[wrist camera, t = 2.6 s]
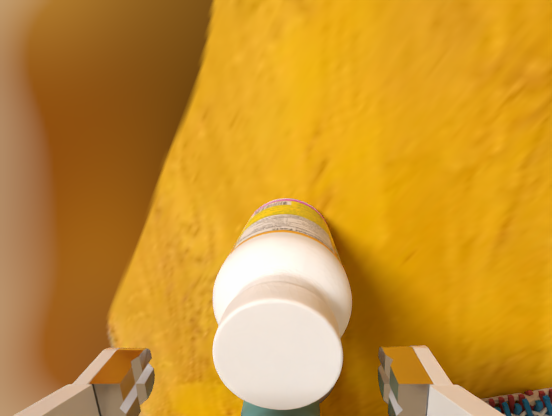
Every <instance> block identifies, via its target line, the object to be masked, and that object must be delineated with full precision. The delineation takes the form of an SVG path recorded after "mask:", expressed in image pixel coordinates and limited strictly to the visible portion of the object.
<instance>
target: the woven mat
mask: <svg viewBox="0 0 552 416" xmlns="http://www.w3.org/2000/svg"><path fill="white" fill-rule="evenodd" d="M548 395H549V396H548ZM481 400H482V401H484V402H485V403H487V404H488V405H490V406H491V407H493V408H494V409H496V410H498V411H499V412H501V413H502V414H504V415H505V416H552V388H545V389H539V390H534V391H531V390H528V391H525V394H522V393H515V394H509V395H503V396H496V397H490V398H484V399H481ZM515 401H519V403H516V404H515ZM507 402H508V403H509V406H508V404H507ZM495 404H499V407H495Z"/></svg>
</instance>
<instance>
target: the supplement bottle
mask: <svg viewBox="0 0 552 416" xmlns="http://www.w3.org/2000/svg"><path fill="white" fill-rule="evenodd" d="M213 308H214V314H215V317H216V320H217V323H218V325H219V326H218V329H217V332H216V335H215V337H214V342H213V360H214V364H215V368H216V370H217V372H218V374H219V376H220V378H221V380H222V381H223V383H224V384H225V385H226V386H227V387H228V388H229V389H230V390H231V391H232V392H233V393H234V394H235V395H237V396H238V397H239V398H241V399H243V400H244V401H246V402H249V403H251V404H253V405H256V406H259V407H263V408H268V409H276V410H289V409H296V408H300V407H304V406H307V405H309V404H311V403H313V402H315V401H317V400H319V399H320V398H321V397H323V396H324V395H325V394H327V393H328V392H329V391H330V389H331V388H332V387H333V386H334V384H335V383H336V381H337V380H338V377H339V375H340V372H341V369H342V364H343V349H342V344H341V339H340V338H341V337H342V335H343V333H344V332H345V330H346V328H347V325H348V322H349V319H350V316H351V310H352V294H351V288H350V284H349V281H348V278H347V275H346V272H345V270H344V267H343V265H342V262H341V260H340V257H339V254H338V252H337V249H336V246H335V244H334V241H333V238H332V236H331V233H330V230H329V228H328V226H327V223H326V221H325V220H324V218H323V216H322V215H321V214H320V213H319V212H318V211H317V210H316V209H315V208H314V207H312V206H311V205H309V204H308V203H305V202H303V201H300V200H297V199H290V198H283V199H277V200H273V201H270V202H268V203H266V204H264V205H263V206H261V207H260V208H259V209H258V210H257V211H255V213H254V214H253V215H252V216H251V218H250V219H249V221H248V223H247V225H246V226H245V228H244V230H243V232H242V233H241V235H240V237H239V238H238V240H237V242H236V243H235V245H234V247H233V249H232V250H231V252H230V254H229V255H228V257H227V259H226V260H225V262H224V264H223V265H222V267H221V269H220V271H219V273H218V275H217V278H216V281H215V284H214V290H213Z"/></svg>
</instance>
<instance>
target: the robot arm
mask: <svg viewBox="0 0 552 416" xmlns="http://www.w3.org/2000/svg"><path fill="white" fill-rule="evenodd" d="M151 358H152V357H151V353H150V350H149V349H147V348H107V349H105V350H103V351H102V352H101V353H100V354H99V356H98V357H97V358H96V359H95V360H94V361H93V362H92V363H91V364H90V365H89V366H88V368H87V369H86V370H85V371H84V372H83V373H82V374H81V375H80V376H79V378H78V379H77V380H76V381H75V382H74V383H73V384H68V385H66V386H64V387H62V388H61V389H59V390H57V391H55V392H54V393H52V394H50V395H49V396H47V397H45V398H43V399H42V400H40V401H38V402H37V403H35V404H33V405H31V406H29V407H28V408H26V409H24V410H23V411H21V412H19V413H17V414H15V415H14V416H138V415H139V413H140V412H141V410H140V405H141V404H142V403H143V402H144V401H146V400H147V399H148V397H149V395H150V393H151V392H152V388H153V385H154V376H155V374H154V368H153V367H152V366H151V365H150V364H149V361H150V360H151ZM379 359H380V362H381V365H380V366H379V368H378V380H379V387H380V391H381V394H382V397H383V400H384V401H385V402H386V403H387V404H388V414H389V416H505V415H504V414H502V413H501V412H499V411H498V410H496V409H494V408H493V407H491V406H490V405H488V404H487V403H485V402H484V401H482V400H481V399H479V398H478V397H476V396H474V395H473V394H471V393H470V392H468V391H467V390H465V389H464V388H462V387H461V386H459V385H453V384H452V382H451V381H450V379H449V378H448V376H447V375H446V373H445V372H444V370H443V369H442V367H441V366H440V364H439V363H438V362H437V360H436V359H435V357H434V356H433V354H432V353H431V351H430V350H429V348H428V347H427V346H425V345H422V346H393V347H380V348H379Z"/></svg>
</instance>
